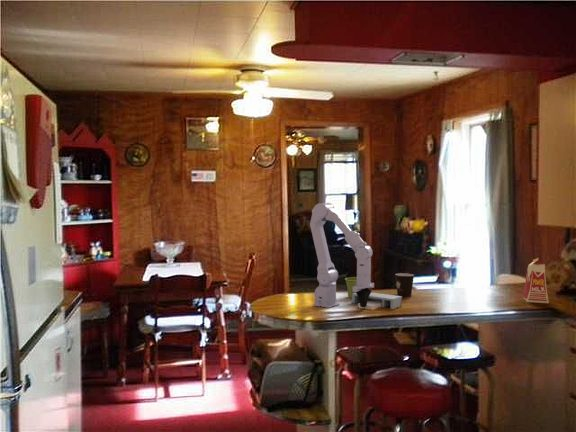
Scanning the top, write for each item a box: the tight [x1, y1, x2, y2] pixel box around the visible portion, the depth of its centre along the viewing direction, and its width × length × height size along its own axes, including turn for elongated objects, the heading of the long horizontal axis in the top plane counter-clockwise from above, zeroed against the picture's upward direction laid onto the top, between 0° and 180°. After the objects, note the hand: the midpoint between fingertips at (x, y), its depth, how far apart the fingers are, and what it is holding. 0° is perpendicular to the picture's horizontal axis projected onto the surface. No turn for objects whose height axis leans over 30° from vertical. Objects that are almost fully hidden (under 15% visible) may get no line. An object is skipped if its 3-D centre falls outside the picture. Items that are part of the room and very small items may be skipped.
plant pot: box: [344, 276, 357, 299], centre depth 266 cm, size 9×9×9 cm
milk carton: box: [523, 257, 549, 304], centre depth 261 cm, size 9×9×20 cm
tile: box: [357, 300, 383, 311], centre depth 245 cm, size 12×7×2 cm, turn 142°
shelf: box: [351, 292, 403, 310], centre depth 249 cm, size 8×20×4 cm, turn 52°
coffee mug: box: [393, 272, 415, 298], centre depth 272 cm, size 12×9×10 cm
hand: (363, 306), depth 240 cm, fingers closed
